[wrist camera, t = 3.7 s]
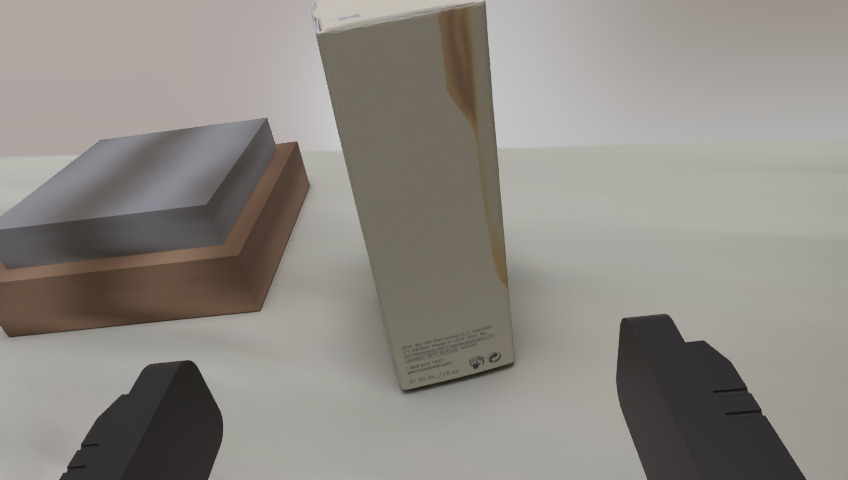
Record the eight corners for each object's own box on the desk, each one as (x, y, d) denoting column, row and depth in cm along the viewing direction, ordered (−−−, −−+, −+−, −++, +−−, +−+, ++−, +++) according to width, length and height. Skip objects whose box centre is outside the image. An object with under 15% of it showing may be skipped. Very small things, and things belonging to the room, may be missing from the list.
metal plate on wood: (309, 185, 34) (288, 109, 31) (259, 310, 24) (221, 214, 21) (129, 207, 35) (93, 135, 32) (8, 336, 25) (-59, 247, 22)
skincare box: (519, 367, 19) (497, -2, 13) (399, 397, 19) (312, 32, 12) (470, 267, 25) (437, -29, 18) (377, 289, 24) (307, -5, 18)
